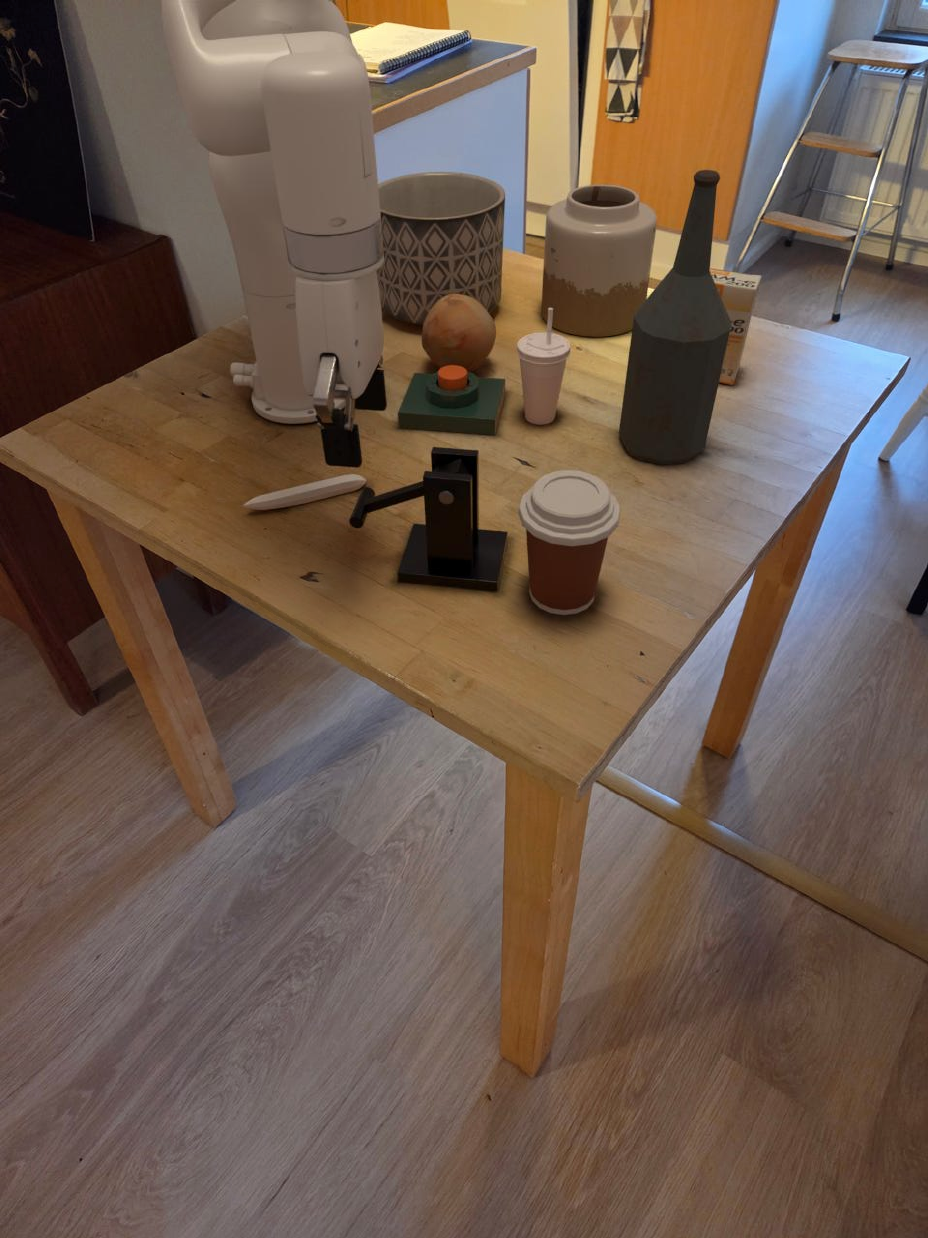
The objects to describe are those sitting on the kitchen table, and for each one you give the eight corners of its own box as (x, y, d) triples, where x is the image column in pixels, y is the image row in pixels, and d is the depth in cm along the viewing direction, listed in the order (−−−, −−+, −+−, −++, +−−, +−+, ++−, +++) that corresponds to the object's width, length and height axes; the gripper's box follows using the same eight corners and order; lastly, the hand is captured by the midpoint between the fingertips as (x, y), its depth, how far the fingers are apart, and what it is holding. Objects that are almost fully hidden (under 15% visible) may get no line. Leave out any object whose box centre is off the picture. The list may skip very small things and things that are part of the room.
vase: (617, 347, 119) (632, 223, 107) (522, 322, 125) (527, 202, 113) (659, 306, 128) (677, 188, 117) (569, 285, 134) (578, 171, 123)
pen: (243, 511, 93) (240, 498, 92) (364, 480, 97) (363, 468, 96) (246, 519, 92) (243, 506, 91) (369, 488, 96) (367, 476, 95)
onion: (507, 377, 113) (509, 304, 106) (438, 392, 111) (435, 318, 104) (479, 346, 120) (479, 275, 113) (413, 359, 117) (409, 288, 110)
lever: (356, 534, 83) (343, 515, 81) (368, 503, 86) (356, 485, 85) (466, 500, 78) (454, 480, 76) (474, 470, 81) (463, 449, 80)
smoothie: (562, 432, 103) (570, 322, 94) (510, 427, 104) (513, 318, 95) (568, 406, 108) (576, 298, 98) (518, 401, 109) (522, 294, 99)
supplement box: (671, 376, 113) (688, 278, 104) (678, 360, 116) (695, 264, 107) (734, 387, 111) (756, 288, 102) (739, 370, 114) (762, 273, 105)
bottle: (653, 411, 107) (695, 149, 86) (720, 441, 101) (782, 170, 81) (601, 444, 101) (633, 173, 81) (669, 477, 96) (721, 197, 75)
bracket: (397, 581, 84) (388, 483, 76) (414, 532, 90) (407, 435, 82) (497, 591, 83) (499, 492, 75) (507, 540, 89) (510, 443, 80)
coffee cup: (559, 550, 87) (567, 450, 79) (628, 592, 83) (644, 492, 74) (496, 591, 83) (497, 491, 75) (565, 639, 78) (575, 537, 70)
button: (435, 391, 104) (435, 378, 103) (441, 376, 107) (440, 363, 105) (464, 393, 104) (464, 380, 102) (469, 378, 106) (469, 365, 105)
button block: (398, 428, 105) (396, 399, 102) (415, 387, 112) (413, 359, 109) (495, 435, 103) (495, 405, 100) (505, 394, 110) (505, 365, 108)
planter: (504, 337, 122) (506, 217, 110) (371, 338, 122) (359, 219, 111) (502, 282, 136) (503, 170, 124) (382, 283, 136) (373, 172, 124)
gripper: (319, 205, 73) (342, 387, 84) (251, 285, 60) (290, 486, 72) (404, 207, 72) (416, 391, 83) (353, 290, 59) (376, 492, 71)
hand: (357, 435), depth 78 cm, fingers open, 9 cm apart
